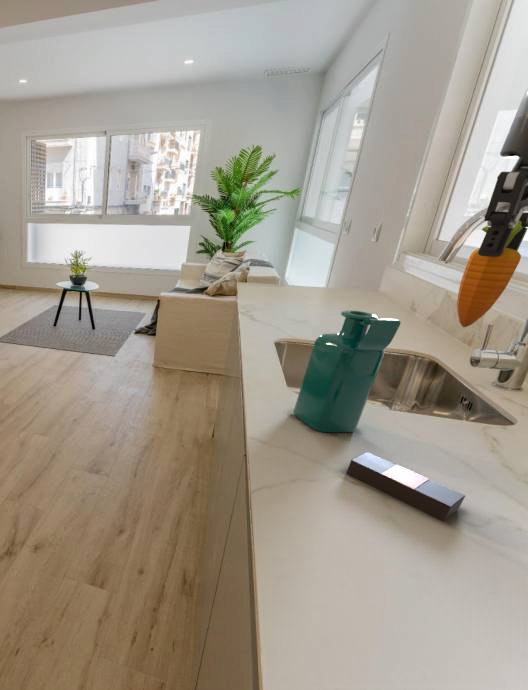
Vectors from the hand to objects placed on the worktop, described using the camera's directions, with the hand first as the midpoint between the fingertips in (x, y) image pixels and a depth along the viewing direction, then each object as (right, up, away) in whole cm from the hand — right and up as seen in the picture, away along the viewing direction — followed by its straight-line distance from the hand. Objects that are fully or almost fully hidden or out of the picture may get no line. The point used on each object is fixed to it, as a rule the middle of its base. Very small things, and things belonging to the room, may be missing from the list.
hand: (496, 254), depth 58 cm
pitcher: (-7, -27, +23) cm, 36 cm away
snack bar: (-9, -34, +5) cm, 36 cm away
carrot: (0, -10, +4) cm, 11 cm away
